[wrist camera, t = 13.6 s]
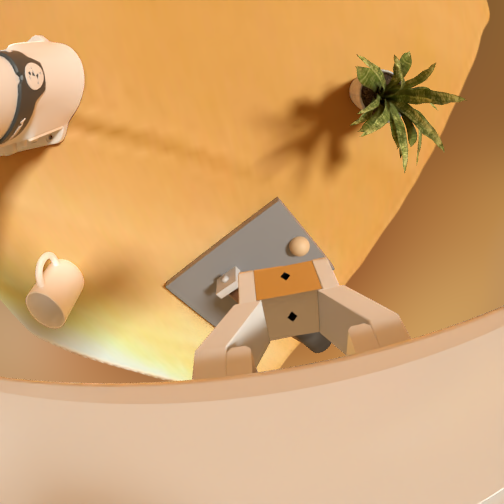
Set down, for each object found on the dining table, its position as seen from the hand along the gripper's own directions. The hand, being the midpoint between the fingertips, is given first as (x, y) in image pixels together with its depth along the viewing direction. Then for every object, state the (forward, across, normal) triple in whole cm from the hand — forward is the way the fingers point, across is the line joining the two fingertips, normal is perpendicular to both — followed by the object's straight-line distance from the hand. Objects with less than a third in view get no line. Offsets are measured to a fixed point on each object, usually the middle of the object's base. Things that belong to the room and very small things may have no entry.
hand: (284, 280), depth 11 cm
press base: (+34, +4, +24) cm, 42 cm away
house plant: (+34, -16, -3) cm, 38 cm away
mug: (+34, +38, +16) cm, 54 cm away
